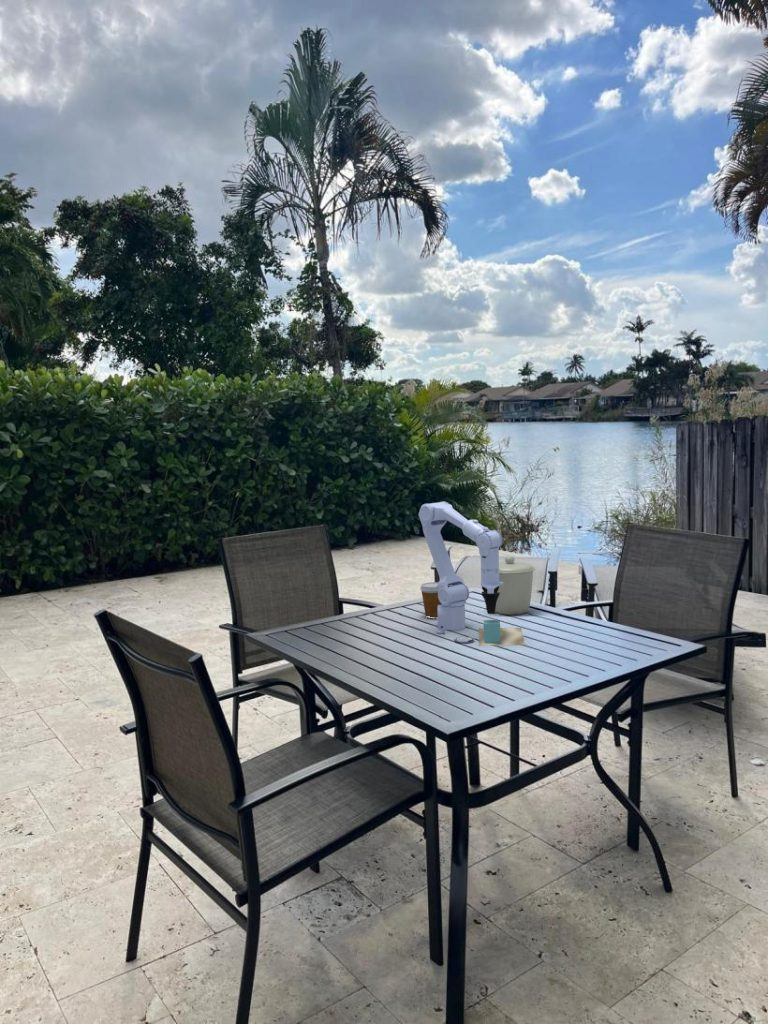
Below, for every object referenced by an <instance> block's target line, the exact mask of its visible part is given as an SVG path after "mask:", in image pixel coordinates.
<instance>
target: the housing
mask: <svg viewBox="0 0 768 1024" xmlns="http://www.w3.org/2000/svg"><path fill="white" fill-rule="evenodd" d="M483 628H484V643H501V638H500V628H501V621H500V619H484V620H483Z"/></svg>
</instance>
